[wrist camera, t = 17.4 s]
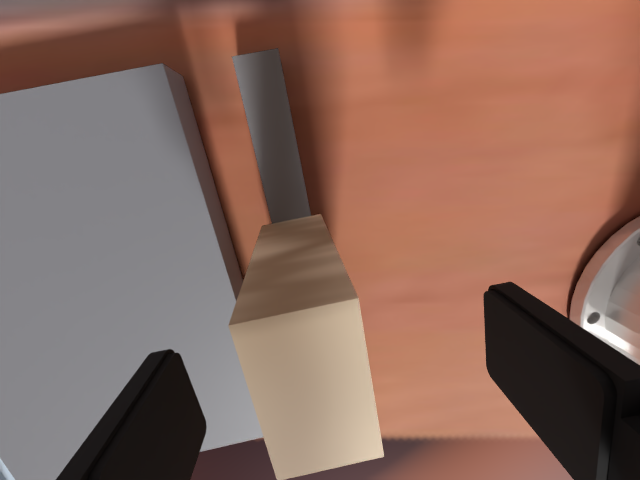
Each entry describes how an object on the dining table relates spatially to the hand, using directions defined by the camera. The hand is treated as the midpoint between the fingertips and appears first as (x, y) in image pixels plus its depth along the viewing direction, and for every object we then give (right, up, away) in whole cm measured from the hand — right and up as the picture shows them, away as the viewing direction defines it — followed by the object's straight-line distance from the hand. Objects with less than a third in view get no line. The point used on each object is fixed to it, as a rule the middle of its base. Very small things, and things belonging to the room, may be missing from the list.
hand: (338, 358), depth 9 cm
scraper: (-2, +3, +9) cm, 9 cm away
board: (-13, +1, +8) cm, 15 cm away
